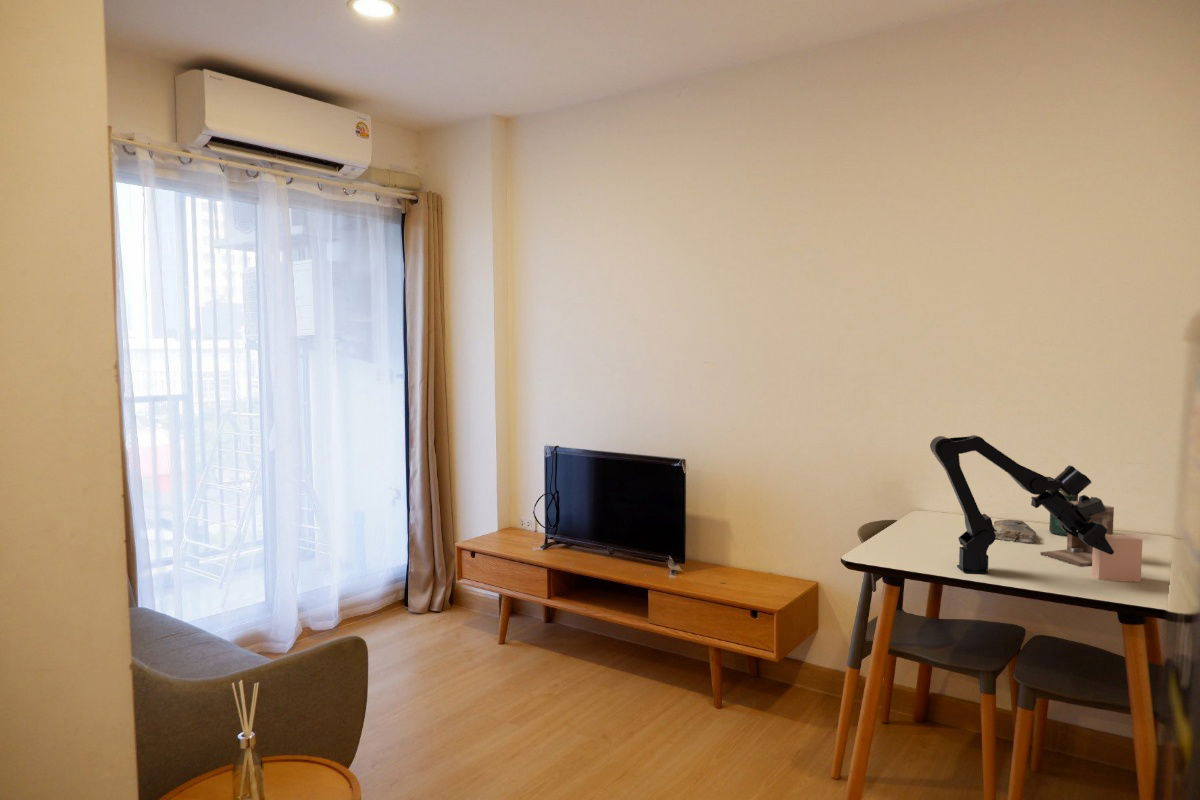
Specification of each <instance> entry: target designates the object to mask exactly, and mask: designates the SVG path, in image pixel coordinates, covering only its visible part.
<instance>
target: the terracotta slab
mask: <svg viewBox="0 0 1200 800" xmlns="http://www.w3.org/2000/svg"><path fill="white" fill-rule="evenodd" d="M1105 538H1106V540H1107V541H1108V543H1109V544H1110V546H1111V548H1112V549H1113V551H1114V553H1113V554H1112V555H1110V554H1108V553H1105V552H1103V551H1101V550H1098V549H1096V548H1094V547H1093V555H1092V565H1091V575H1092V577H1094V578H1096V579H1097V580H1100V581H1114V580H1124V581H1123V582H1132V581H1142V580H1141V579H1142V578H1141V577H1142V560H1143V557H1142V556H1143V539H1142V538H1140V537H1139V536H1136V535H1131V534H1130V535H1129V534H1128V535H1125V534H1113V535H1108V534H1106V535H1105Z"/></svg>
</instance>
